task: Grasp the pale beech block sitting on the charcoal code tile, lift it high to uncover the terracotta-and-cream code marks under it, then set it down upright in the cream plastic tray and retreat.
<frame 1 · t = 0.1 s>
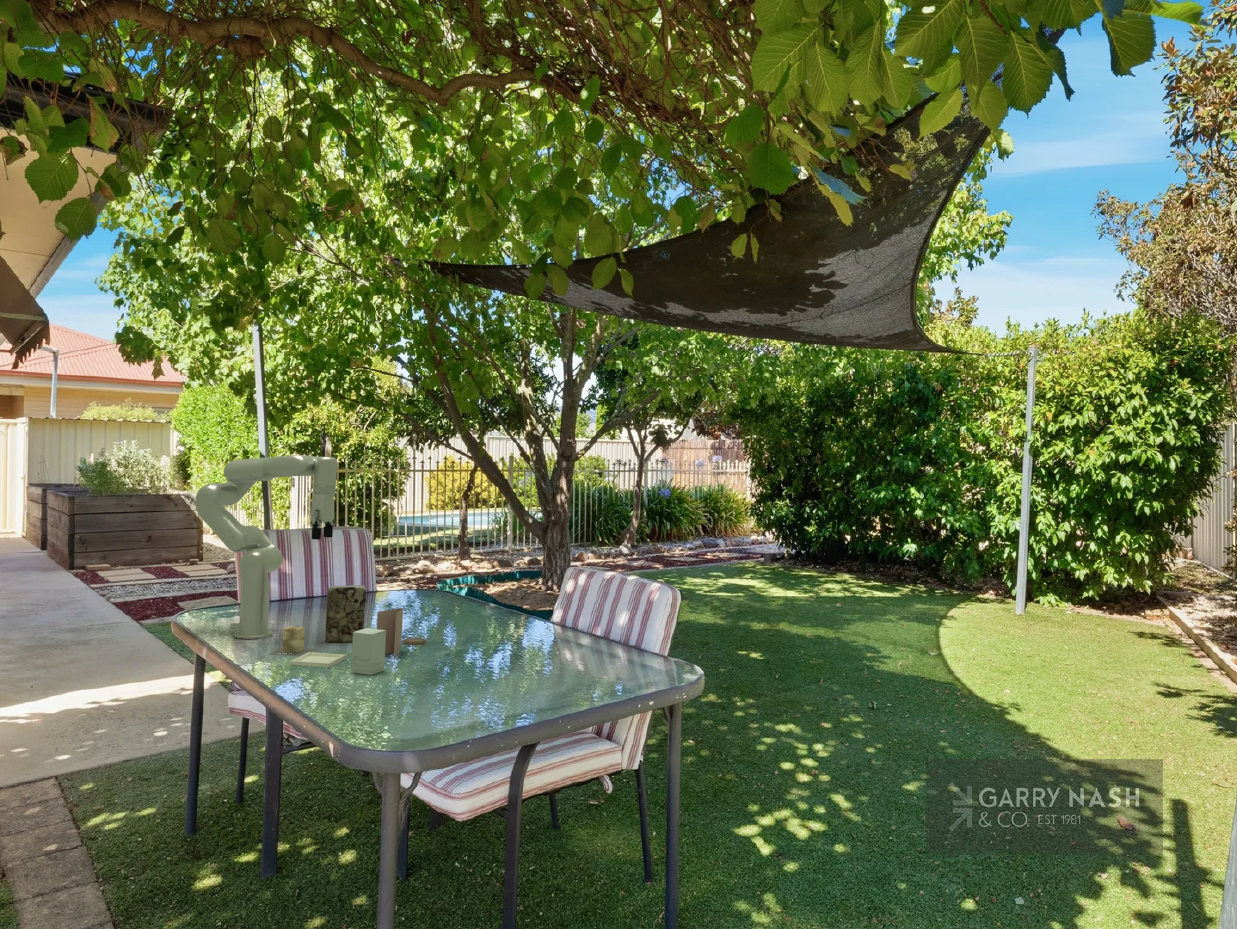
hand: (322, 538, 285), 37 cm above the table, tool pointing down, fingers open, 9 cm apart
code tile: (293, 652, 265), on the table
stone block: (344, 642, 284), on the table
greeting card: (394, 655, 267), on the table
beech block: (293, 651, 265), resting on code tile
supplement box: (367, 672, 244), on the table
cream tray: (318, 662, 253), on the table
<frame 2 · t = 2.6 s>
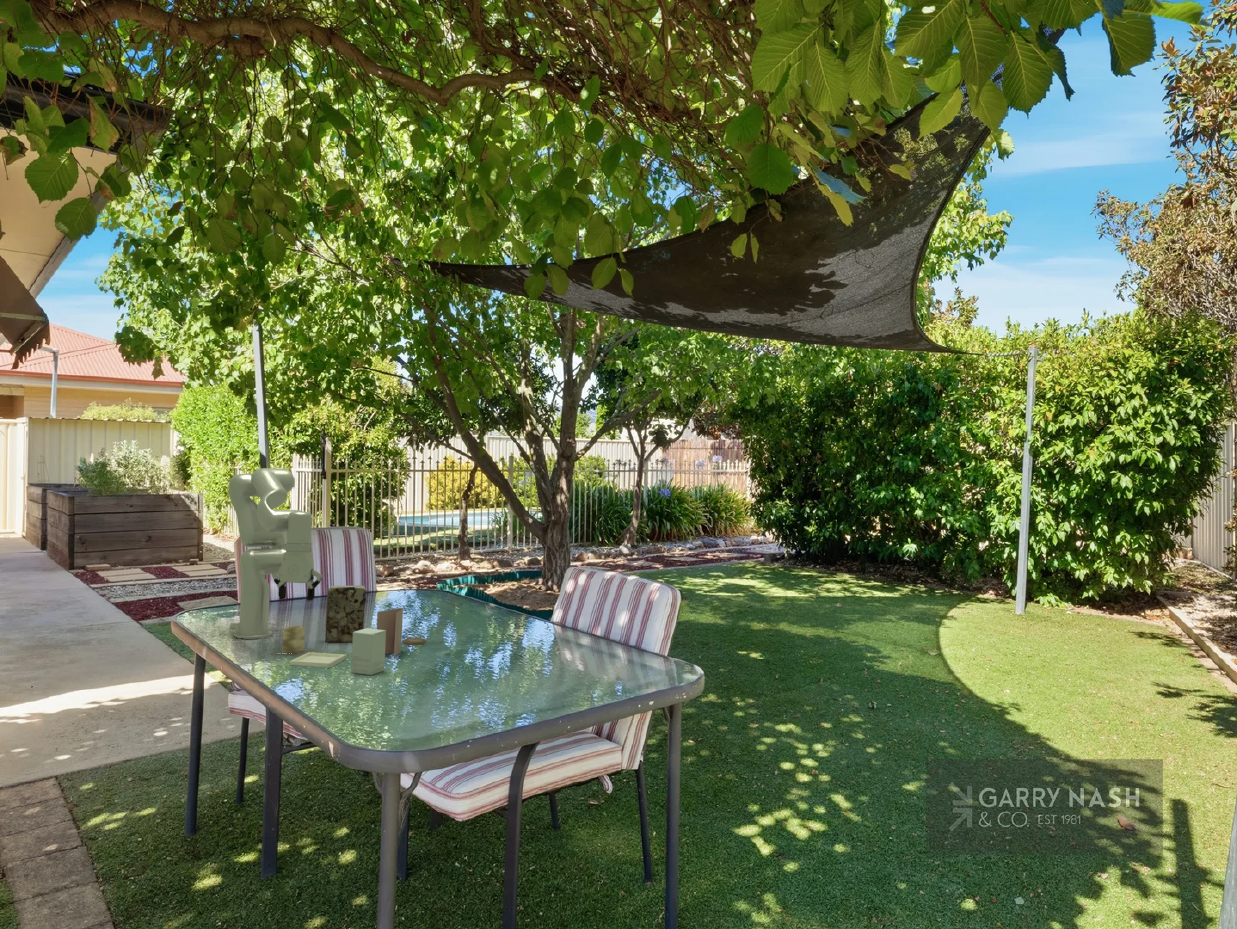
hand: (296, 599, 265), 18 cm above the table, tool pointing down, fingers open, 9 cm apart
nothing on the table moved.
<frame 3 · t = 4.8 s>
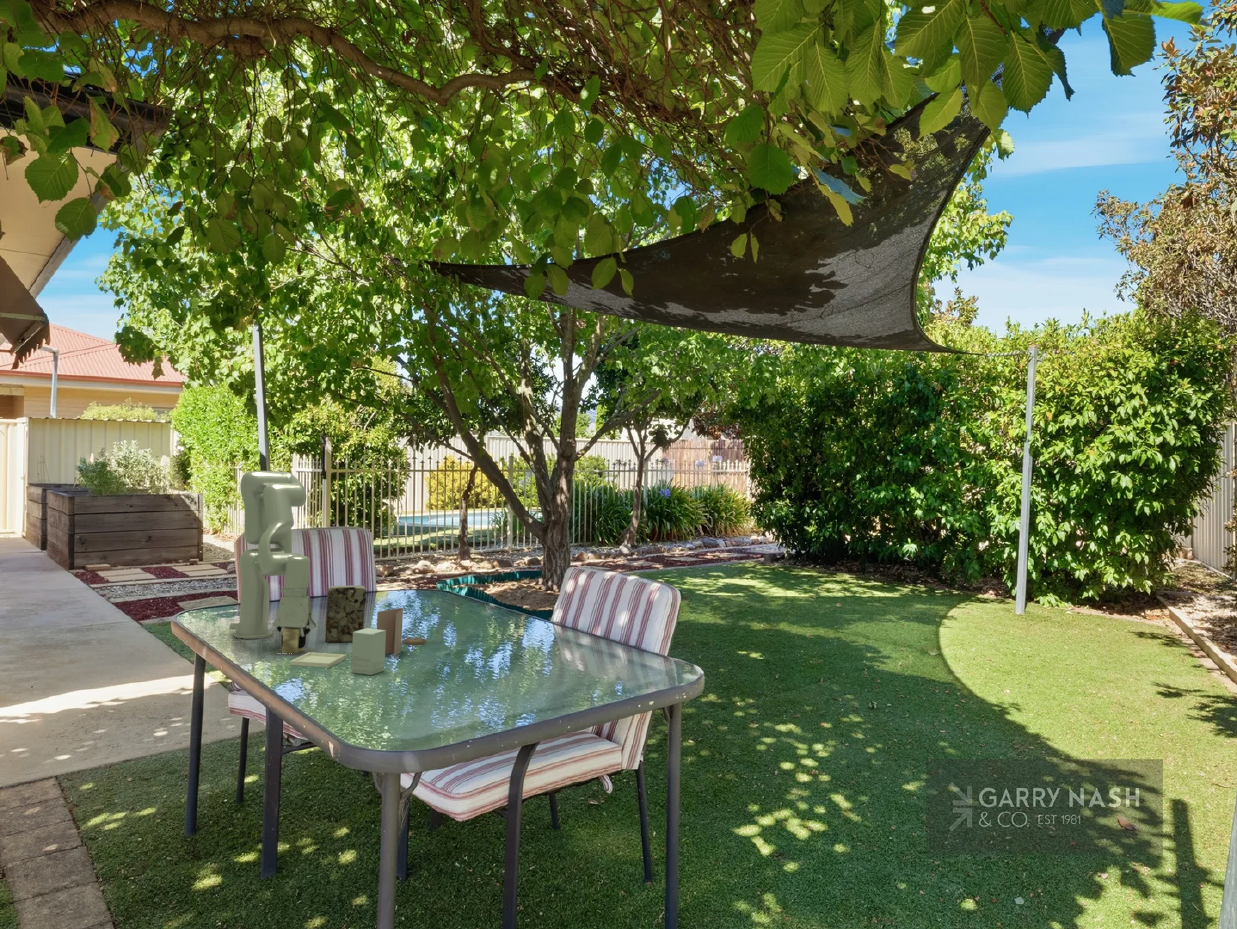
hand: (293, 646, 265), 2 cm above the table, tool pointing down, fingers closed on beech block, 5 cm apart
beech block: (293, 651, 265), resting on code tile, touching gripper
everything else where it was.
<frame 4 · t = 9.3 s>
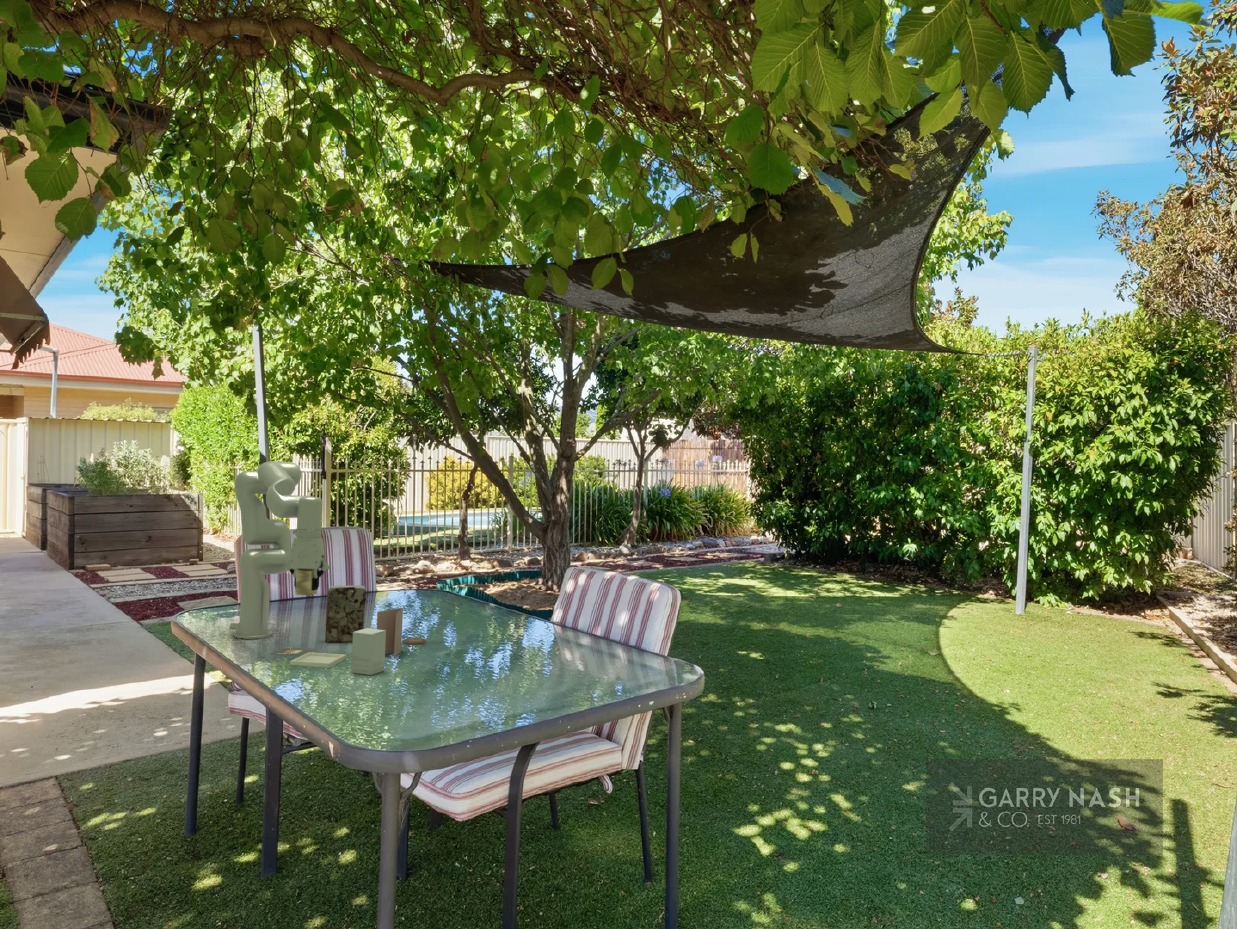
hand: (306, 588, 260), 22 cm above the table, tool pointing down, fingers closed on beech block, 5 cm apart
beech block: (306, 594, 260), point 20 cm above the table, touching gripper
everything else where it was.
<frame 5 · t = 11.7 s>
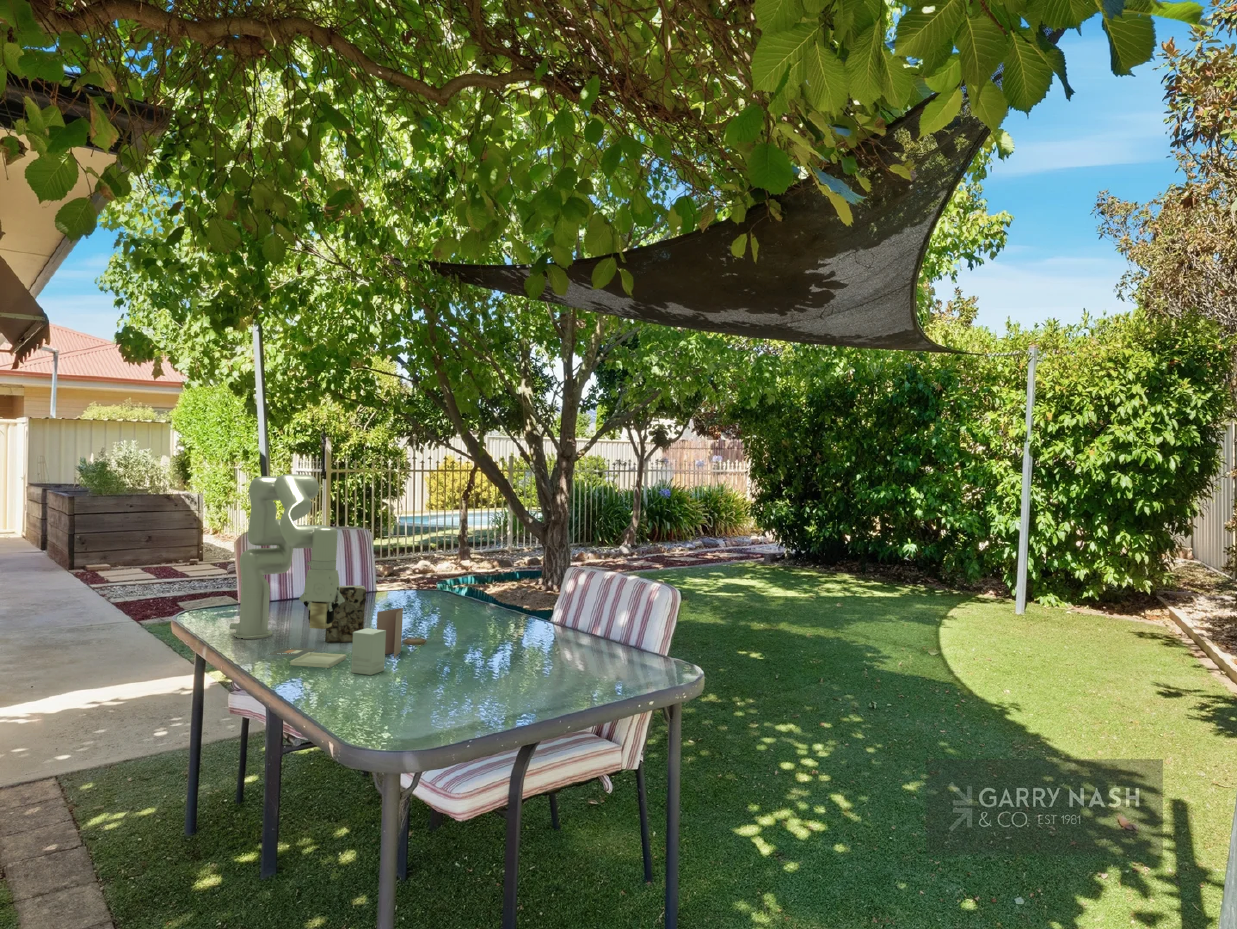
hand: (320, 622, 253), 13 cm above the table, tool pointing down, fingers closed on beech block, 5 cm apart
beech block: (320, 627, 253), point 11 cm above the table, touching gripper
everything else where it was.
when the fingers open (4 cm above the table, at t = 13.7 s): beech block drops 2 cm, resting on cream tray.
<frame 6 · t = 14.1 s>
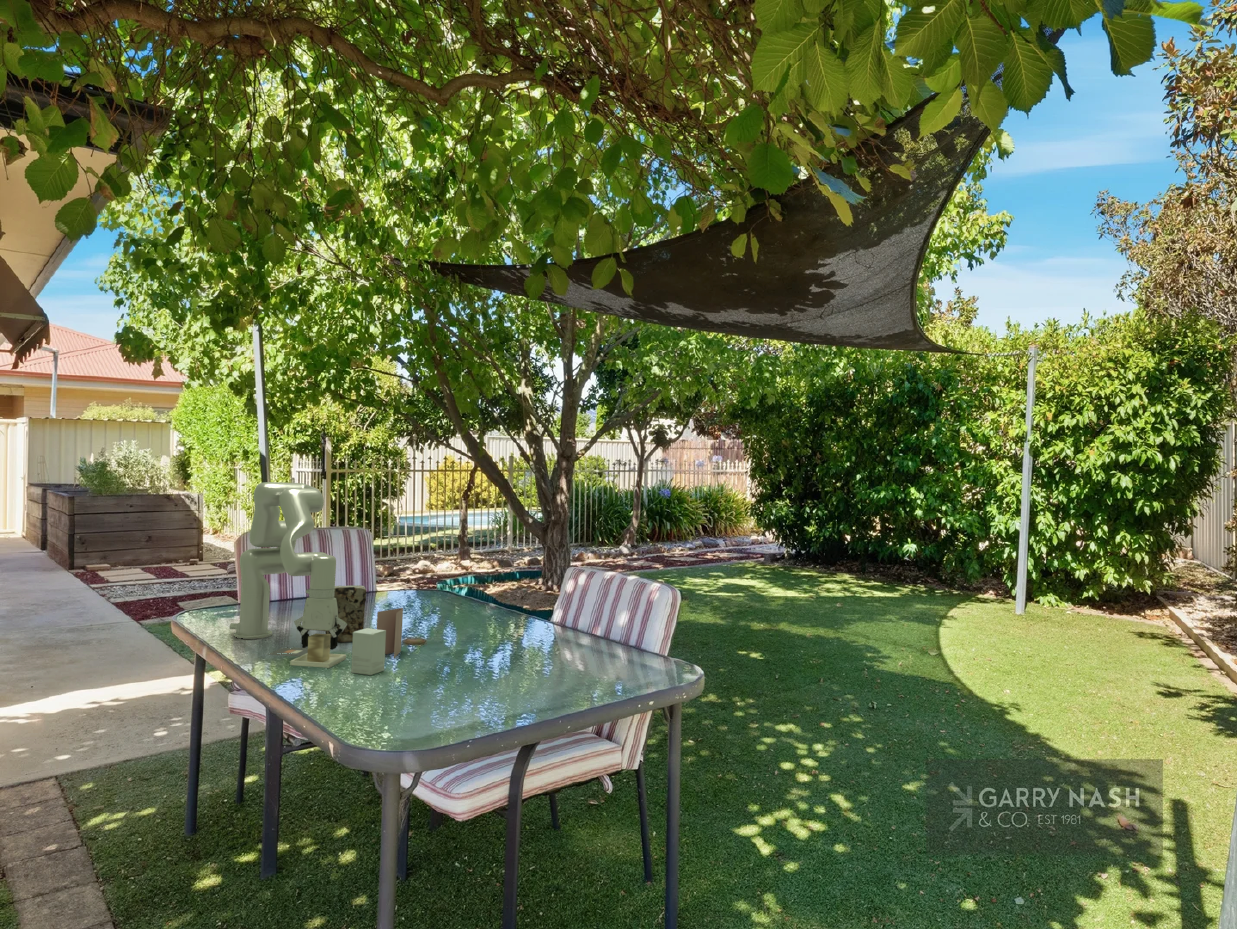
hand: (319, 647, 253), 5 cm above the table, tool pointing down, fingers open, 8 cm apart
beech block: (318, 660, 253), point 1 cm above the table, touching cream tray
everything else where it was.
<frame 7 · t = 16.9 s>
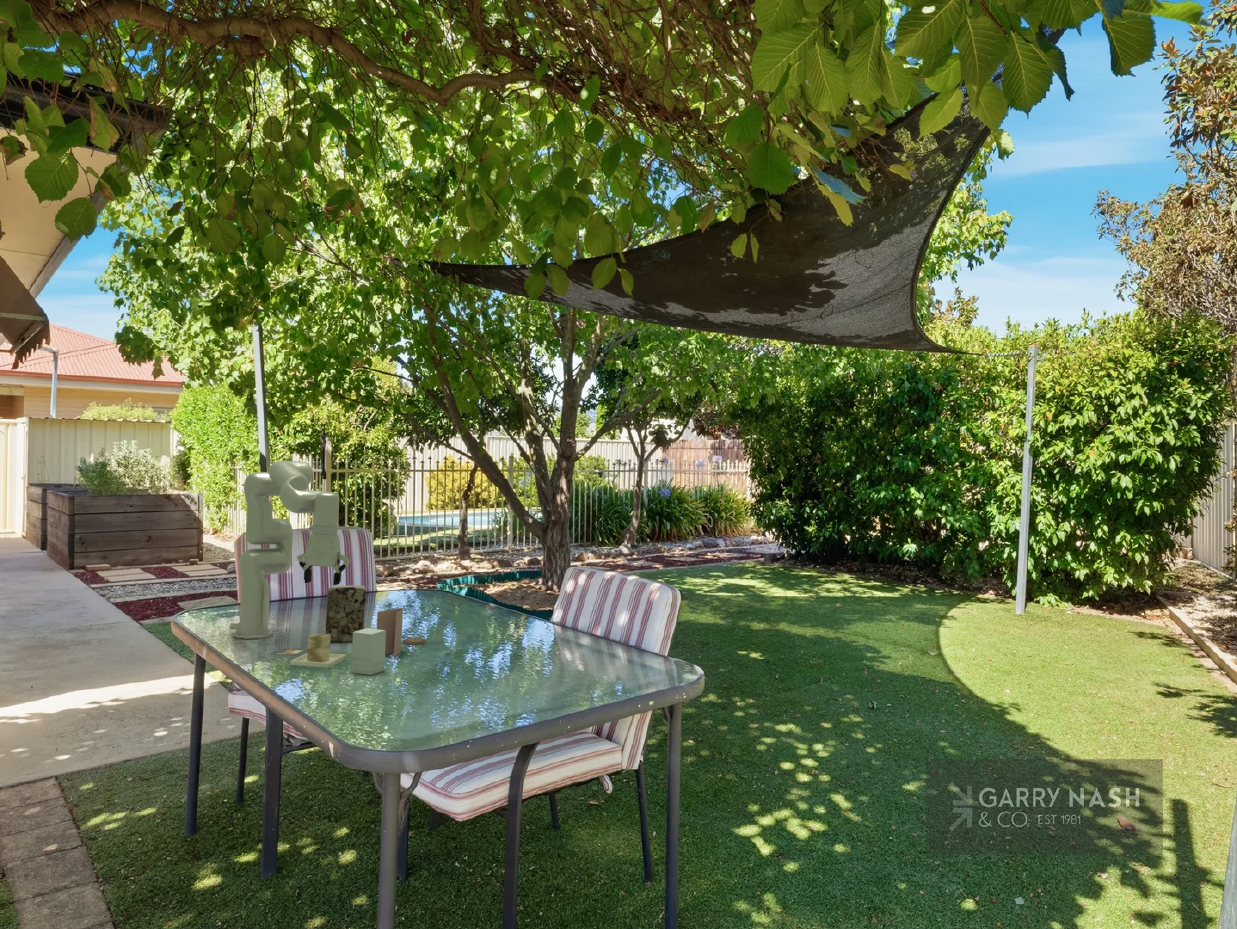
hand: (322, 583, 256), 25 cm above the table, tool pointing down, fingers open, 9 cm apart
nothing on the table moved.
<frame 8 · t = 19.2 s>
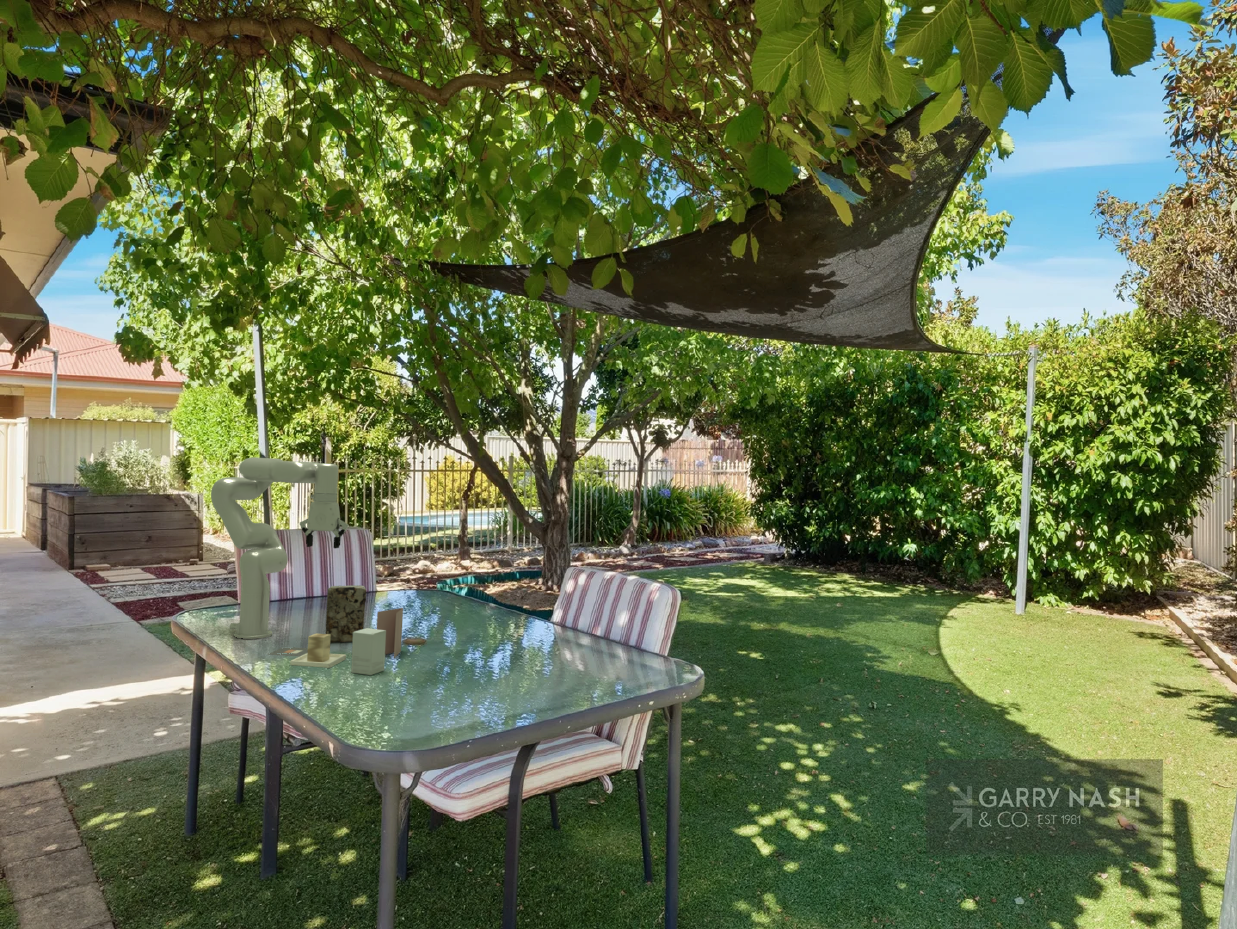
hand: (322, 547, 277), 34 cm above the table, tool pointing down, fingers open, 9 cm apart
nothing on the table moved.
at the end: beech block 0.1 cm off-centre on the cream tray, point 0.6 cm above the cream tray's base; beech block tilted 0°; the gripper is holding nothing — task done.
